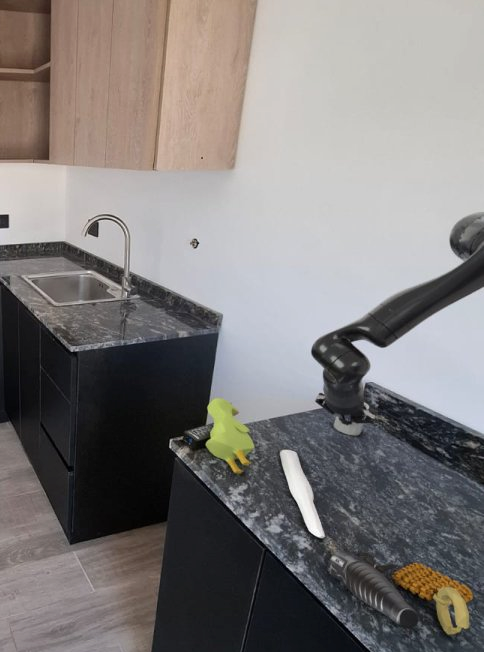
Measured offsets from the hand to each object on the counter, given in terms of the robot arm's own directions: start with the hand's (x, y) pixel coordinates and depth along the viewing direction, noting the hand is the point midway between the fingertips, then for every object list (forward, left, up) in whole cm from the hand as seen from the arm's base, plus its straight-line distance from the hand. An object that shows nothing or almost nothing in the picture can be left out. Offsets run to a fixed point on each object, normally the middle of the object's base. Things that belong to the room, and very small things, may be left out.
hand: (346, 421), depth 118 cm
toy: (+30, +20, -2) cm, 36 cm away
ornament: (+11, +42, -3) cm, 44 cm away
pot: (-3, -3, -4) cm, 5 cm away
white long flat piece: (+21, +23, -4) cm, 32 cm away
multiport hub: (+36, +7, -4) cm, 37 cm away
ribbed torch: (+17, +47, -3) cm, 50 cm away
